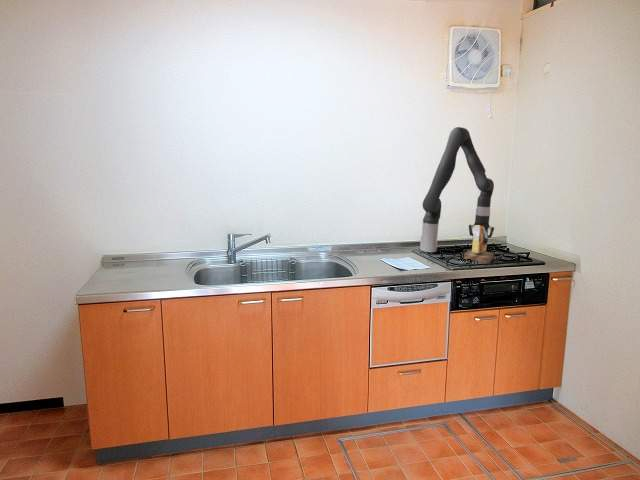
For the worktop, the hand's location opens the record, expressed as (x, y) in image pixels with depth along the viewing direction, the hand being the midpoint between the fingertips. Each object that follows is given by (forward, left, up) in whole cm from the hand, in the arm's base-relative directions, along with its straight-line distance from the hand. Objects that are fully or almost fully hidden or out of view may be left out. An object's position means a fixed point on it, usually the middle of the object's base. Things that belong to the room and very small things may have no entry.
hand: (479, 243), depth 264 cm
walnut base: (0, 0, -9) cm, 9 cm away
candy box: (0, 0, -5) cm, 5 cm away
